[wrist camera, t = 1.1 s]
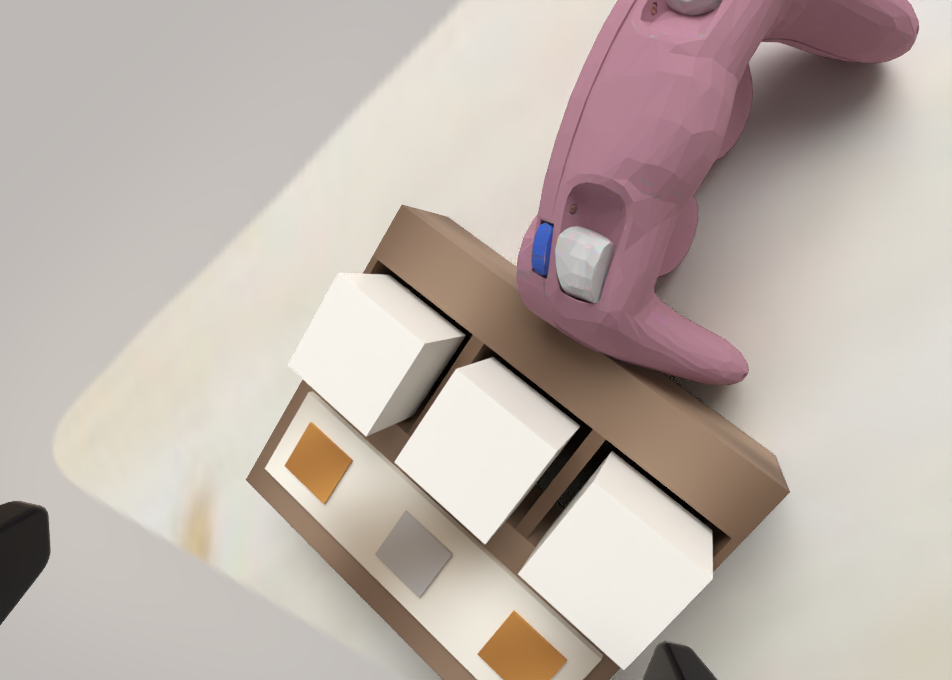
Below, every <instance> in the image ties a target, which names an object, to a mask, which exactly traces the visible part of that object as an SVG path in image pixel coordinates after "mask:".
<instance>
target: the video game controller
mask: <svg viewBox="0 0 952 680" xmlns="http://www.w3.org/2000/svg"><path fill="white" fill-rule="evenodd" d="M918 31H919V21H918V19H917V16H916V14H915V12H914V10H913V7H912V5H911V4H910V3H909V1H908V0H618V1H617V2H616V4H615V6H614V7H613V9H612V11H611V13H610V14H609V16H608V18H607V19H606V21H605V23H604V25H603V27H602V28H601V30H600V32H599V34H598V36H597V38H596V40H595V42H594V45H593V47H592V49H591V51H590V53H589V55H588V57H587V59H586V61H585V64H584V66H583V68H582V71H581V73H580V75H579V78H578V80H577V82H576V85H575V87H574V89H573V92H572V94H571V96H570V99H569V102H568V105H567V108H566V111H565V114H564V117H563V120H562V123H561V126H560V129H559V131H558V134H557V137H556V140H555V144H554V147H553V151H552V154H551V158H550V162H549V165H548V169H547V173H546V176H545V180H544V184H543V190H542V195H541V201H540V207H539V212H538V215H537V216H536V217H535V219H534V220H533V221H532V223H531V225H530V227H529V228H528V230H527V232H526V234H525V236H524V238H523V241H522V245H521V248H520V252H519V255H518V262H517V274H516V280H517V286H518V292H519V294H520V297H521V299H522V302H523V303H524V305H525V306H526V307H527V308H528V309H529V310H530V311H531V312H533V313H534V314H535V315H537V316H538V317H540V318H541V319H543V320H545V321H546V322H548V323H549V324H551V325H552V326H554V327H555V328H557V329H558V330H559V331H561V332H562V333H564V334H565V335H567V336H569V337H570V338H572V339H574V340H575V341H577V342H579V343H581V344H582V345H584V346H586V347H588V348H590V349H592V350H594V351H596V352H598V353H599V352H602V353H604V354H606V355H608V356H610V357H612V358H614V359H616V360H619V361H622V362H625V363H629V364H632V365H636V366H639V367H643V368H647V369H650V370H654V371H658V372H662V373H665V374H669V375H673V376H676V377H680V378H684V379H687V380H691V381H695V382H699V383H704V384H709V385H731V384H735V383H738V382H740V381H742V380H743V379H744V378H745V377H746V376H747V374H748V371H749V369H748V364H747V362H746V360H745V359H744V357H743V355H742V354H741V353H740V352H739V351H738V350H737V349H736V348H735V347H734V346H732V345H731V344H730V343H729V342H728V341H727V340H725V339H723V338H721V337H720V336H718V335H716V334H714V333H712V332H710V331H709V330H707V329H705V328H703V327H701V326H699V325H698V324H696V323H694V322H692V321H690V320H688V319H687V318H685V317H683V316H681V315H679V314H678V313H677V312H675V311H674V310H673V309H671V308H670V307H669V306H668V305H666V304H665V303H664V302H662V301H661V300H660V299H659V298H658V297H657V295H656V294H655V292H654V287H655V284H656V280H657V277H659V276H662V275H665V274H667V273H669V272H671V271H672V270H674V269H675V268H676V267H677V266H678V265H679V264H680V263H681V261H682V260H683V258H684V257H685V255H686V254H687V252H688V250H689V248H690V245H691V243H692V241H693V238H694V235H695V231H696V226H697V222H698V205H697V203H696V200H695V198H694V196H693V195H694V194H695V193H696V191H697V190H698V188H699V186H700V185H701V183H702V181H703V180H704V178H705V177H706V175H707V173H708V172H709V170H710V168H711V167H712V165H713V164H714V162H715V160H716V159H719V158H721V157H723V156H724V155H725V154H726V153H727V152H728V151H729V150H730V149H731V148H732V147H733V146H734V145H735V143H736V141H737V140H738V138H739V136H740V135H741V133H742V131H743V130H744V127H745V125H746V122H747V119H748V117H749V114H750V109H751V103H752V96H753V89H752V79H751V74H750V69H749V63H748V62H749V60H750V59H751V57H752V56H753V54H754V52H755V51H756V49H757V47H758V46H759V44H760V43H761V42H780V43H783V44H786V45H789V46H792V47H795V48H798V49H801V50H804V51H807V52H810V53H813V54H816V55H819V56H823V57H828V58H833V59H838V60H842V61H847V62H865V63H881V62H887V61H890V60H893V59H895V58H898V57H900V56H901V55H903V54H905V53H906V52H907V51H909V50H910V49H911V47H912V46H913V44H914V42H915V40H916V37H917V34H918Z"/></svg>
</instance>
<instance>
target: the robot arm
mask: <svg viewBox="0 0 952 680" xmlns="http://www.w3.org/2000/svg"><path fill="white" fill-rule="evenodd" d="M49 556H50V534H49V516H48V512H47V510H46V509H45V508H44V507H42V506H40V505H36V504H31V503H26V502H22V501H12V502H8V503H5V504H2V505H0V625H1V624H2V622H3V621H4V620H5V618H6V617H7V616H8V615H9V613H10V612H11V611H12V610H13V608H14V607H15V606H16V604H17V603H18V602H19V601H20V599H21V598H22V597H23V595H24V594H25V593H26V591H27V590H28V589H29V587H30V586H31V585H32V584H33V583H34V581H35V580H36V578H37V577H38V576H39V575H40V573H41V572H42V571H43V569H44V568H45V566H46V564H47V562H48V559H49ZM643 680H717V678H716V677H715V676H714V675H713V674H712V672H711V671H710V670H709V669H708V668H707V666H706V665H705V664H704V663H703V662H702V661H701V659H700V658H699V657H698V656H697V655H696V653H695V652H694V651H693V650H692V649H691V648H689V647H688V646H685V645H681V644H677V643H672V642H667V641H662V642H660V643H659V644H658V645H657V647H656V649H655V651H654V654H653V656H652V658H651V661H650V663H649V666H648V668H647V670H646V673H645V675H644V678H643Z"/></svg>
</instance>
